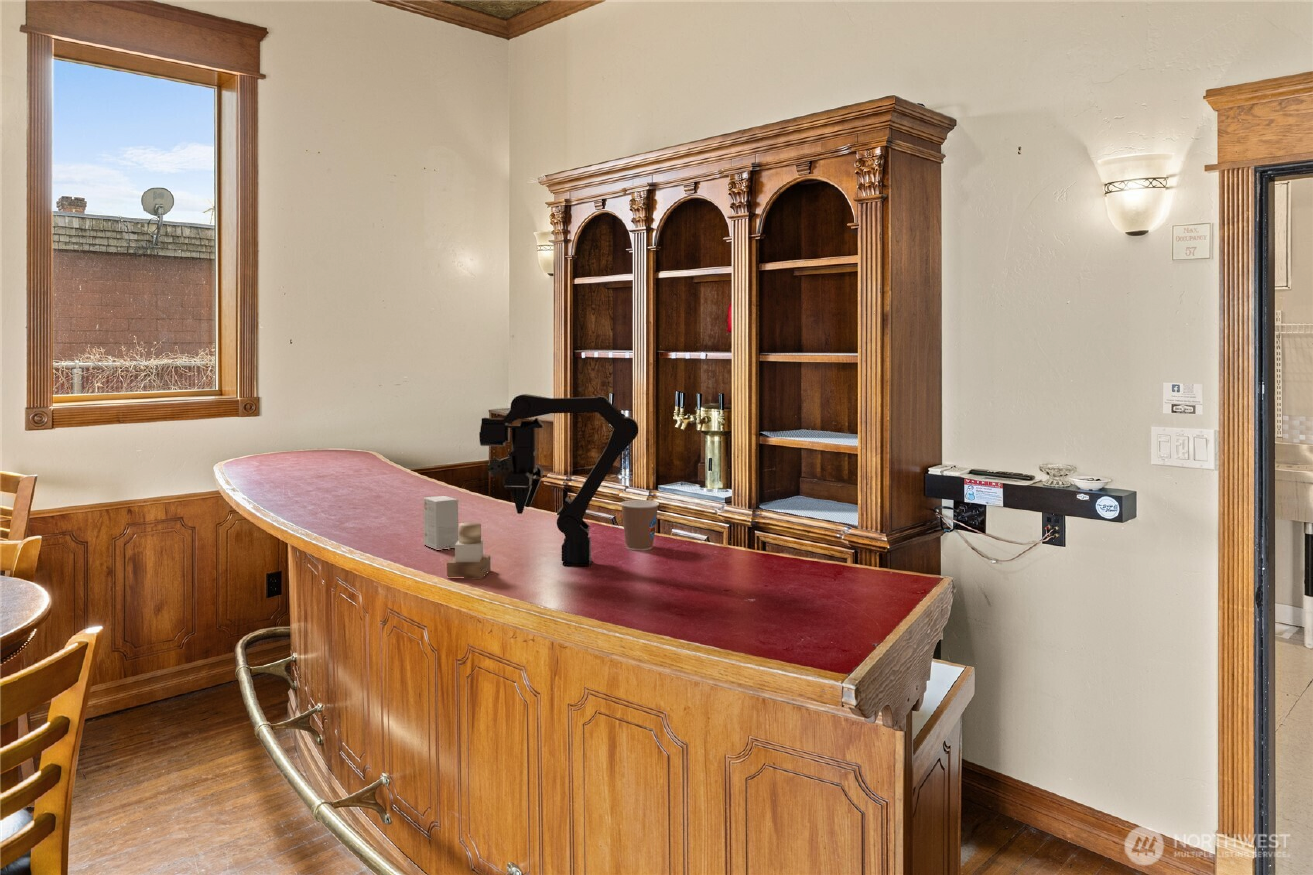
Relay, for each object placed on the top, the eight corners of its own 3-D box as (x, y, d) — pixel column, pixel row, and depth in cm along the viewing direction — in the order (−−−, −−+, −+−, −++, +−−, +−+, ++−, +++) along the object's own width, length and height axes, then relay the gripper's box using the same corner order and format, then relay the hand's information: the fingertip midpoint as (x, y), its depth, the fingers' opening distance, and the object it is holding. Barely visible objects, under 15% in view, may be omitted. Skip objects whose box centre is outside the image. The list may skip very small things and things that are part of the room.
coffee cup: (658, 552, 217) (658, 506, 216) (618, 551, 217) (619, 506, 216) (658, 543, 227) (659, 500, 226) (621, 543, 228) (621, 499, 227)
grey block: (483, 556, 194) (482, 539, 194) (479, 562, 189) (479, 544, 189) (459, 556, 194) (459, 539, 194) (455, 562, 189) (454, 544, 188)
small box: (459, 548, 218) (458, 499, 217) (436, 551, 214) (435, 501, 213) (445, 542, 225) (445, 495, 224) (423, 546, 221) (422, 497, 220)
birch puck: (482, 539, 194) (482, 522, 194) (478, 544, 189) (478, 526, 189) (461, 538, 194) (461, 522, 194) (456, 543, 189) (456, 526, 189)
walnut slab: (490, 572, 196) (490, 555, 196) (482, 580, 188) (482, 563, 188) (456, 571, 196) (456, 554, 196) (447, 580, 188) (446, 562, 188)
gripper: (499, 442, 211) (499, 503, 212) (480, 449, 192) (481, 516, 193) (543, 443, 210) (543, 504, 212) (528, 450, 192) (528, 517, 193)
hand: (523, 510), depth 202 cm, fingers open, 9 cm apart
